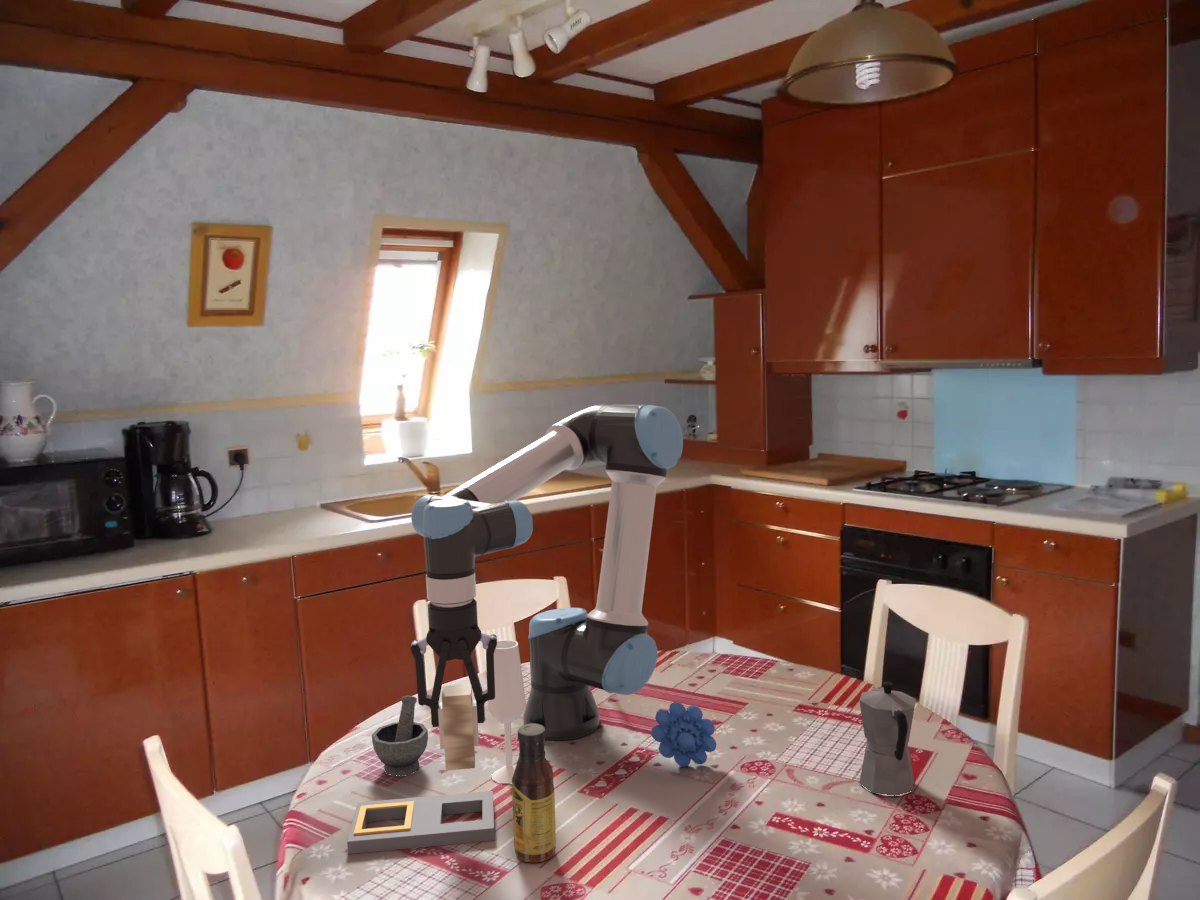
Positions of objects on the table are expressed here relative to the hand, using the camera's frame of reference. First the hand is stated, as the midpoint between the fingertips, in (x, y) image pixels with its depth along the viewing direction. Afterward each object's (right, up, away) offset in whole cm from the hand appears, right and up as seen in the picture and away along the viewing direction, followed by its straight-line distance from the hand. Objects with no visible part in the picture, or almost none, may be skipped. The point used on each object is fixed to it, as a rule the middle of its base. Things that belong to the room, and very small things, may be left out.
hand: (459, 743), depth 146 cm
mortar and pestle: (-14, -11, +22) cm, 28 cm away
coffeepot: (+71, -11, +9) cm, 72 cm away
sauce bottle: (+13, -14, -8) cm, 21 cm away
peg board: (-6, -13, +1) cm, 15 cm away
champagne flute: (+6, -11, +17) cm, 22 cm away
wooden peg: (0, -3, 0) cm, 3 cm away
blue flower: (+37, -10, +18) cm, 43 cm away
